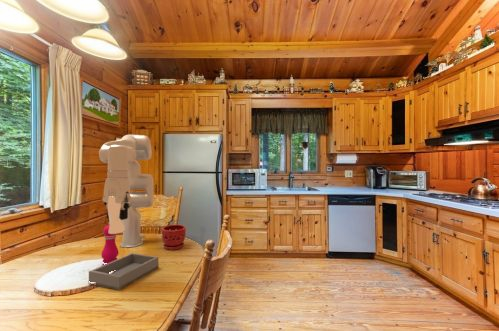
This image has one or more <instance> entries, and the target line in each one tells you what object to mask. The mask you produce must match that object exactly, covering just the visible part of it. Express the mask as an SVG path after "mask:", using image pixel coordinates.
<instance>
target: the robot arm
mask: <svg viewBox="0 0 499 331" xmlns="http://www.w3.org/2000/svg"><path fill="white" fill-rule="evenodd" d="M152 150H153V149H152V144H151V139H150V137H149V136H147V135H143V134H126V135H123V137H121V138H120V139H117V140H112V141H107V142H105V143H104V144H102V146H100V149H99V151H98V157H99V158H98V159H99V161H101V162H102V163H105V164H106V163H107V173H106V174H107V178H105V181H104V187H103V196H102V198H101V200H102V202H103V204H104V206H105V209H106V219H109V216H108V207H107V206H108V196H112V197H115V202H116V203H121V208H122V210H121V211H120V219H121V220H124V227H125V232H123V233H122V241H121V242H120V243H119V247H121V248H127V249H128V248H135V247H139V246H142V245H143V243H144V241H143V240H142V239H144V238H146V234H141V218H142V217H141V216H142V215H141V213H140V211H139V210H138V208H150V207H152V206H153V205H154V194H155V193H154V185H155V184H154V178H153V175H152V174H149V173H141V164H140V162H139V160H140V161H149V160H151V158H152V154H153V151H152ZM134 190H135V191H134ZM136 190H138V191H136ZM140 190H143V191H140ZM124 200H125V202H124ZM124 203H125V206H124Z"/></svg>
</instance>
